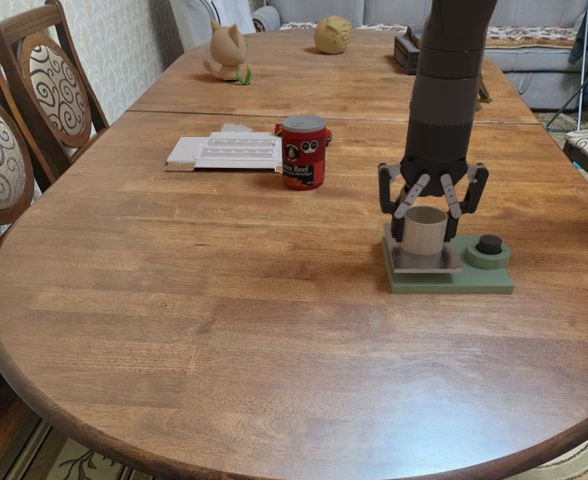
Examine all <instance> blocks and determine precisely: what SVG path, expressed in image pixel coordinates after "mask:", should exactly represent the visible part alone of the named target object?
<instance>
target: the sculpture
mask: <svg viewBox="0 0 588 480" xmlns="http://www.w3.org/2000/svg"><path fill="white" fill-rule="evenodd" d="M313 32H314V33H313V39H314V40H313V42H314V46H315V48H316V49H317V50H318V51H320V52H322V53H325V54H332V55H337V54H341V53H343V52H344V51H345V50H346V49H347V48H348V43H349V40H350V37H351V34H352V23H351V22H350V21H348V20H347V19H345V18H343V17H342V16H339V15H336V14H335V15H334V14H333V15H331V16H327V17H324V18H323V19H321V20H320V21H319V22H318V23H317V25H316V27H315V29H314V31H313Z"/></svg>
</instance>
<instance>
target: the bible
mask: <svg viewBox="0 0 588 480" xmlns="http://www.w3.org/2000/svg"><path fill="white" fill-rule="evenodd" d="M406 26H407V28H406V31H405V33H404V34H397V35H394V41H393V58H394V59H396V60H395V61H396V62H397V63H399V65H401V66H402V68H403V70H404V72H405V73H406V75H407V76H408V75H416V73H417V66H418V58H419V50H420V44H421V43H420V42H421V35H422V30H423V26H424V25H415V24H408V25H406Z"/></svg>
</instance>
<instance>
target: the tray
mask: <svg viewBox="0 0 588 480" xmlns="http://www.w3.org/2000/svg"><path fill="white" fill-rule="evenodd" d="M167 162H179V163H194V164H195V166H194V168H195V169H196V168H226V169H227V168H230V169H231V168H232V169H233V168H234V169H237V168H238V169H243V168H244V169H274V173H275V172H276V167H277V166H282V142H281V137H278V136H276V135H275V133H274V132H267V131H266V132H265V131H264V132H263V131H261V132H260V131H259V132H256V131H255V132H254V131H253V128H252V127H248V126H246V125H243V124H235V123H234V122H231V123H228V122H225V123H223V125H222V126H221V127H220V130H218V131H211V132H210V135H209V137H185V136H181V137H180V138H179V140H178V141H177V143H176V144H175V146H174V148H172V151H171V153H170V154H169V156H168V157H167V159H166V163H167Z"/></svg>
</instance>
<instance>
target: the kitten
mask: <svg viewBox="0 0 588 480" xmlns="http://www.w3.org/2000/svg"><path fill="white" fill-rule="evenodd" d="M210 27H211V28H210V29H211V39H210V43H209V52H210V55H211V58H212V60H214V61H215V62H216V63H218V65H219V64H220V68H219V71H217V70H215V69H214V68H213V67H212V66H211V63H210V62H209V61H208V60H206V59H204V60H202V66H203V68H204V69H205V70H206V71H207V72H208V73H209V74H211V75H212V76H213V77H215V78H217V79H220V78H221V80H223V79H224V80H223V81H226V80H236V81H239V84H240V83H243V82H244V83H245V82H246V83H248V82H250V83H251V76H252V71H251V68H250V66H249V65H248V64H246V70H247V73H246V77H245V81H244V80H243V79H242V78H243V70H242V69H241V67H240V66H241V65H243V64H244V63H245V62H246V61H247V58H248V44H247V41H246V38H245V37H244V35H243V33H242V32H241V31H240V30H239V28H238V24H237V22H234V23H233V24H232V25H231V26H229V25H225V26H222V25H221V24H220V23H219V22H218V21H216V19H214V18H212V19H211V20H210ZM241 77H242V78H241ZM237 79H238V80H237Z"/></svg>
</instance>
